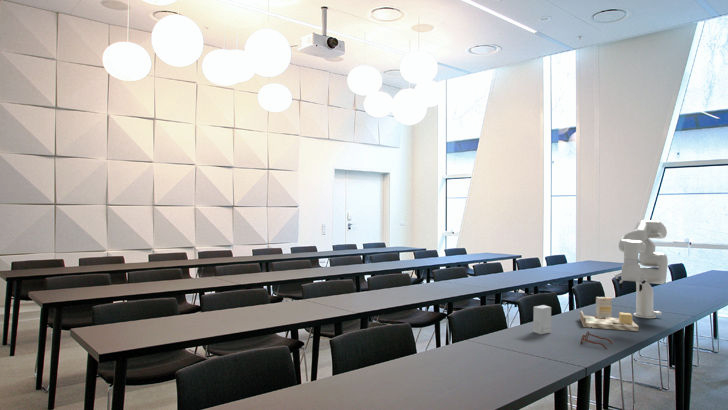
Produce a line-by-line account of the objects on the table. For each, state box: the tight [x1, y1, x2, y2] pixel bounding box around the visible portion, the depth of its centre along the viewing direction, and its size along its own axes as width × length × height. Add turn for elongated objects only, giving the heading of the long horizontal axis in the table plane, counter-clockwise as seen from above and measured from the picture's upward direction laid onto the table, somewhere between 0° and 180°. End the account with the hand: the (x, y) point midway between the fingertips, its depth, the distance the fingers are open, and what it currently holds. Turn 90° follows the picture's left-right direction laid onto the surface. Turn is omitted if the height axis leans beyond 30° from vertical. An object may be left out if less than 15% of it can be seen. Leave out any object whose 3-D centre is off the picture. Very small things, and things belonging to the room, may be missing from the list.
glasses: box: [580, 331, 614, 350], centre depth 253 cm, size 13×13×5 cm
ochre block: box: [618, 311, 633, 324], centre depth 290 cm, size 6×6×5 cm
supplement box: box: [595, 296, 613, 318], centre depth 312 cm, size 8×5×13 cm, turn 84°
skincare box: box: [532, 304, 552, 335], centre depth 275 cm, size 8×6×15 cm
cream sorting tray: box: [579, 310, 640, 332], centre depth 293 cm, size 29×20×6 cm
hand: (630, 290), depth 290 cm, fingers open, 9 cm apart
